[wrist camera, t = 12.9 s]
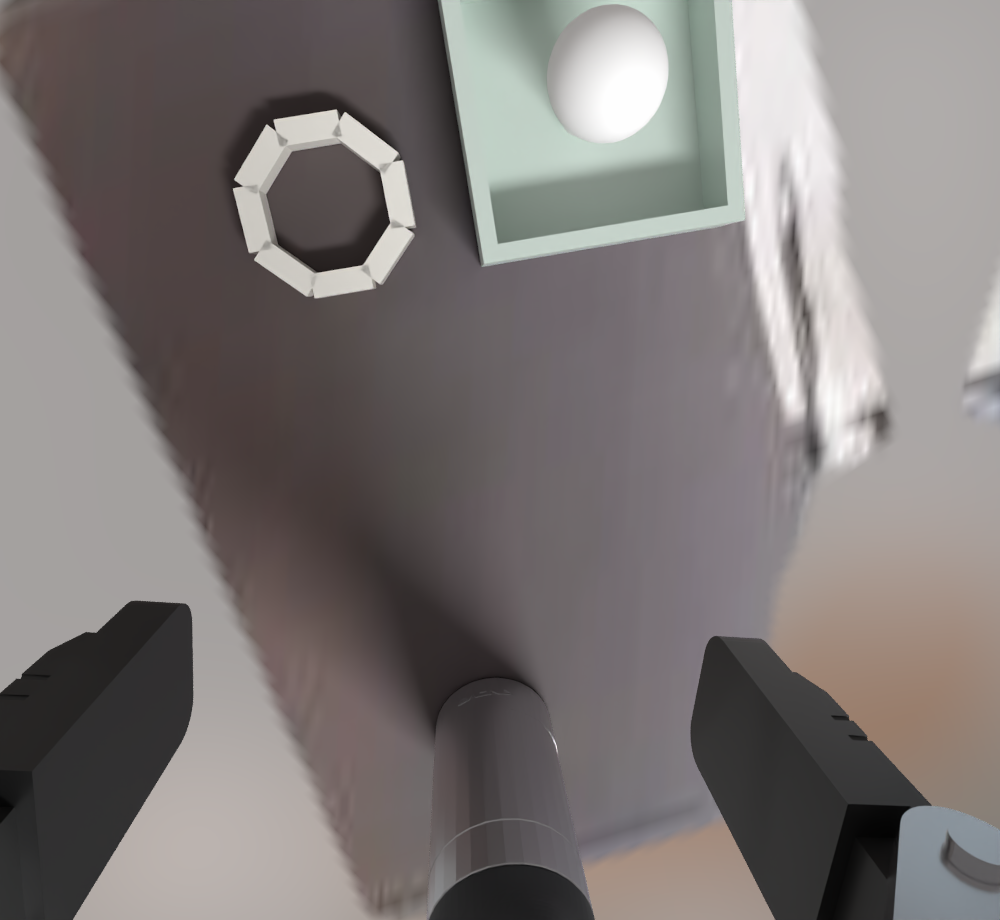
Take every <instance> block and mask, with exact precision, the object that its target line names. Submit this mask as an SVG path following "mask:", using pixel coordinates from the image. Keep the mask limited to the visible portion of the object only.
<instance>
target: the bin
mask: <svg viewBox="0 0 1000 920" xmlns="http://www.w3.org/2000/svg"><path fill="white" fill-rule="evenodd" d="M608 4H620V5H625V6H629V7H631V8H634V9H636V10H638V11H640V12H641V13H643V14H644V15H645V16H647V17H648V18H649V19H650V20H651V21H652V22H653V23H654V25H655V26H656V27H657V29H658V31H659V32H660V34H661V36H662V38H663V41H664V43H665V46H666V50H667V56H668V81H667V87H666V90H665V93H664V96H663V99H662V101H661V104H660V106H659V108H658V109H657V111H656V113H655V114H654V116H653V117H652V118H651V119H650V121H649V122H648V123H647V124H646V125H645V126H644V127H643V128H641V129H640V130H639V131H638V132H636V133H635V134H634V135H632V136H630V137H628V138H626V139H624V140H621V141H618V142H614V143H602V144H601V143H593V142H588V141H585V140H583V139H580V138H578V137H576V136H573V135H571V134H569V133H568V132H567V131H566V130H565V129H564V127H563V126H562V124H561V122H560V121H559V119H558V118H557V116H556V115H555V112H554V110H553V108H552V105H551V103H550V99H549V94H548V90H547V69H548V62H549V59H550V56H551V53H552V50H553V47H554V45H555V43H556V41H557V39H558V37H559V36H560V34H561V33H562V31H563V30H564V29H565V28H566V26H567V25H568V24H569V23H570V22H572V21H573V20H574V19H575V18H576V17H578V16H579V15H580V14H581V13H583V12H585V11H587V10H589V9H591V8H594V7H597V6H601V5H608ZM438 6H439V12H440V18H441V24H442V30H443V36H444V42H445V49H446V55H447V61H448V67H449V73H450V79H451V85H452V91H453V97H454V103H455V110H456V116H457V122H458V128H459V134H460V140H461V146H462V152H463V158H464V164H465V171H466V177H467V183H468V189H469V195H470V201H471V207H472V213H473V219H474V226H475V232H476V238H477V244H478V250H479V256H480V262H481V267H484V266H490V265H496V264H502V263H508V262H514V261H520V260H526V259H532V258H538V257H544V256H549V255H555V254H561V253H567V252H573V251H579V250H585V249H591V248H597V247H603V246H609V245H615V244H621V243H627V242H633V241H639V240H644V239H650V238H656V237H662V236H668V235H674V234H680V233H686V232H692V231H698V230H704V229H710V228H716V227H720V226H724V225H728V224H732V223H736V222H740V221H744V220H745V207H744V190H743V174H742V158H741V142H740V126H739V110H738V94H737V78H736V62H735V46H734V30H733V13H732V0H438Z"/></svg>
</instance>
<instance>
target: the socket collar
mask: <svg viewBox="0 0 1000 920" xmlns="http://www.w3.org/2000/svg"><path fill="white" fill-rule="evenodd" d="M274 124H275V128H276V131H275V130H273V129H272V128H271V127H269V126H268V125H266V126H265V128H264V130H263V131H262V133H261V135H260V137H259V138H258V140H257V142H256V143H255V145H254V147H253V148H252V150H251V152H250V153H249V155H248V157H247V158H246V160H245V162H244V163H243V165H242V167H241V169H240V170H239V172H238V174H237V175H236V177H235V179H234V180H235V181H237V182H238V183H239V184H241V185H242V186H244V187H237V188H233V191H234V195H235V199H236V203H237V207H238V211H239V215H240V219H241V223H242V227H243V231H244V235H245V239H246V243H247V247H248V251H249V253H253V254H257V256H256V258H255V259H254V260H255V261H256V262H258V263H259V264H261V265H262V266H263V267H265V268H266V269H268V270H269V271H271V272H272V273H274V274H275V275H276V276H278V277H279V278H281V279H282V280H284V281H285V282H287V283H288V284H289V285H291V286H292V287H294V288H295V289H297V290H298V291H300V292H301V293H302V294H304V295H305V296H313V294H314V298H324V297H330V296H336V295H342V294H348V293H354V292H359V291H365V290H371V289H376V284H375V281H376V282H378V283H379V284H383V283H384V282H385V280H386V279H387V277H388V276H389V274H390V273H391V271H392V270H393V268H394V267H395V265H396V264H397V262H398V261H399V259H400V258H401V256H402V255H403V253H404V251H405V250H406V248H407V247H408V245H409V244H410V242H411V241H412V239H413V238H414V236H415V235H414V233H412V232H411V231H410V230H408V229H411V228H417V227H416V222H415V217H414V211H413V206H412V200H411V195H410V190H409V184H408V179H407V173H406V168H405V164H404V162H403V160H402V161H399V159H400V156H399V153H398V152H397V151H396V150H394V149H393V148H392V147H390V146H389V145H388V144H386V143H385V142H384V141H382V140H381V139H380V138H379V137H377V136H376V135H375V134H373V133H372V132H371V131H369V130H368V129H367V128H366V127H364V126H363V125H362V124H360V123H359V122H358V121H356V120H355V119H354V118H352V117H351V116H350V115H349V114H347V113H346V112H345V113H344V114H343V116H342V117H341V116H340V114H339V112H338V111H337V109H336V110H330V111H324V112H318V113H312V114H305V115H299V116H293V117H287V118H281V119H275V120H274ZM340 143H341V144H342V145H344V146H345V147H346V148H348V149H349V150H350V151H352V152H353V153H354V154H356V155H357V156H358V157H360V158H361V159H362V160H364V161H365V162H366V163H368V164H369V165H370V166H372V167H373V168H374V169H376V170H377V171H378V172H380V173H381V178H382V183H383V188H384V194H385V199H386V204H387V209H388V214H389V219H390V224H389V226H388V227H387V229H386V231H385V232H384V234H383V235H382V237H381V238H380V240H379V241H378V243H377V244H376V246H375V248H374V249H373V251H372V252H371V254H370V255H369V257H368V258H367V260H366V261H365V263H364V265H361V266H355V267H350V268H344V269H338V270H332V271H326V272H320V273H318V272H316V271H315V270H313V269H312V268H310V267H309V266H308V265H306V264H305V263H303V262H302V261H300V260H299V259H298V258H296V257H295V256H293V255H292V254H291V253H289V252H288V251H286V250H285V249H283V248H282V247H281V246H279V245H278V242H277V238H276V234H275V229H274V225H273V221H272V217H271V213H270V209H269V204H268V200H267V196H266V193H267V192H268V190H269V189H270V187H271V185H272V184H273V182H274V180H275V179H276V177H277V175H278V174H279V172H280V170H281V169H282V167H283V165H284V164H285V162H286V160H287V159H288V157H289V155H290V154H291V152H292V151H297V150H303V149H309V148H315V147H322V146H328V145H334V144H340Z"/></svg>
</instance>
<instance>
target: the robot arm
mask: <svg viewBox="0 0 1000 920" xmlns="http://www.w3.org/2000/svg"><path fill="white" fill-rule="evenodd" d="M192 705H193V649H192V616H191V611H190V608H189V606H188V605H186V604H182V603H181V604H180V603H165V602H148V601H147V602H146V601H131V602H129V603H128V604H126V605H125V607H123V608H122V609H121V610H120V611H119V612H118V613H117V614H116V615H115V616H114V617H113V618H112V619H110V620H109V621H108V622H107V623H106V624H105V625H104V626H103V627H102V628H101V629H100V630H99V631H98V632H97V633H90V632H85V633H83V634H81V635H80V636H77V637H75V638H73V639H71V640H69V641H67V642H65V643H63V644H62V645H59V646H57V647H55V648H53V649H51V650H50V651H48V652H47V653H46V654H44V655H43V656H42V657H41V658H40V659H39V660H37V661H36V662H35V663H34V664H33V665H32V666H31V667H29V668H28V669H27V670H26V671H25V672H24V673H23V674H22V677H21V679H16V680H15V681H14V682H13V683H11V684H10V685H9V686H8V687H7V688H5V689H4V690H3V691H2V692H1V693H0V920H73V918H74V917H75V915H76V913H77V912H78V910H79V909H80V907H81V905H82V904H83V902H84V900H85V899H86V897H87V895H88V894H89V892H90V891H91V889H92V887H93V886H94V884H95V882H96V881H97V879H98V877H99V876H100V874H101V873H102V871H103V869H104V868H105V866H106V864H107V862H108V861H109V860H110V858H111V856H112V854H113V853H114V851H115V850H116V848H117V847H118V845H119V843H120V842H121V840H122V838H123V837H124V835H125V833H126V832H127V830H128V829H129V827H130V825H131V824H132V822H133V820H134V819H135V817H136V815H137V814H138V812H139V811H140V809H141V807H142V806H143V804H144V802H145V801H146V799H147V797H148V796H149V794H150V793H151V791H152V789H153V788H154V786H155V784H156V783H157V781H158V780H159V778H160V776H161V775H162V773H163V771H164V770H165V768H166V767H167V765H168V763H169V762H170V760H171V758H172V757H173V755H174V753H175V752H176V750H177V749H178V747H179V745H180V744H181V742H182V740H183V738H184V736H185V733H186V731H187V727H188V725H189V721H190V717H191V712H192ZM691 746H692V752H693V756H694V759H695V762H696V764H697V767H698V769H699V771H700V773H701V775H702V777H703V779H704V780H705V782H706V784H707V786H708V788H709V790H710V792H711V794H712V796H713V798H714V800H715V802H716V804H717V806H718V808H719V810H720V812H721V814H722V816H723V818H724V820H725V822H726V824H727V826H728V828H729V830H730V831H731V833H732V836H733V838H734V839H735V841H736V843H737V845H738V847H739V849H740V851H741V853H742V855H743V857H744V859H745V861H746V863H747V865H748V867H749V869H750V871H751V873H752V875H753V877H754V879H755V881H756V883H757V885H758V887H759V889H760V891H761V893H762V894H763V897H764V898H765V900H766V902H767V904H768V906H769V908H770V910H771V912H772V914H773V916H774V918H775V920H1000V830H999V829H997V828H995V827H993V826H991V825H990V824H988V823H986V822H984V821H982V820H979V819H977V818H975V817H973V816H970V815H967V814H965V813H962V812H959V811H956V810H952V809H948V808H943V807H937V806H932V805H931V804H930V803H929V802H928V801H927V800H926V799H925V798H924V797H923V796H922V794H921V793H920V792H919V791H918V790H917V789H916V788H915V787H914V786H913V785H912V784H911V783H910V782H909V780H908V779H907V778H906V777H905V776H904V775H903V774H902V773H901V772H900V771H899V770H898V769H897V768H896V766H895V765H894V764H893V763H892V762H891V761H890V760H889V759H888V758H887V757H886V756H885V755H884V753H883V752H882V751H881V750H880V749H879V748H878V747H877V746H876V745H875V744H874V743H873V742H872V741H868V740H867V735H866V734H865V733H864V732H863V731H862V730H861V729H860V728H859V726H858V725H857V724H856V723H855V722H854V721H849V716H848V715H847V714H846V712H845V711H844V710H843V709H842V708H841V707H840V706H839V705H838V704H837V703H836V702H835V701H834V700H833V699H832V697H831V696H830V695H829V694H828V693H827V692H825V691H824V690H822V689H821V688H819V687H818V686H816V685H815V684H813V683H812V682H810V681H809V680H807V679H806V678H804V677H803V676H801V675H799V674H798V673H796V672H792V671H791V670H790V669H789V668H788V667H787V666H786V664H785V663H784V662H783V661H782V660H781V659H780V658H779V657H778V655H777V654H776V653H775V652H774V651H773V650H772V649H771V648H770V646H769V645H768V644H767V643H766V642H765V641H764V640H762V639H756V638H739V637H722V636H714V637H712V638H711V639H710V640H709V642H708V644H707V646H706V649H705V654H704V659H703V664H702V669H701V674H700V679H699V684H698V689H697V695H696V700H695V705H694V710H693V715H692V721H691ZM427 920H595V919H594V915H593V910H592V905H591V901H590V897H589V892H588V887H587V883H586V878H585V874H584V869H583V866H582V861H581V857H580V852H579V848H578V843H577V838H576V834H575V829H574V825H573V820H572V816H571V811H570V807H569V802H568V798H567V793H566V788H565V784H564V779H563V775H562V770H561V766H560V761H559V757H558V751H557V747H556V742H555V737H554V733H553V728H552V724H551V719H550V715H549V712H548V710H547V707H546V705H545V703H544V702H543V700H542V699H541V698H540V696H539V695H538V694H537V693H536V692H534V691H533V690H532V689H531V688H529V687H528V686H526V685H524V684H522V683H520V682H517V681H514V680H510V679H504V678H488V679H482V680H478V681H474V682H471V683H469V684H467V685H465V686H463V687H461V688H460V689H459V690H457V691H456V692H455V693H453V694H452V695H451V696H450V697H449V699H448V700H447V701H446V702H445V703H444V705H443V707H442V709H441V710H440V712H439V715H438V719H437V723H436V736H435V755H434V770H433V790H432V811H431V832H430V852H429V873H428V899H427Z"/></svg>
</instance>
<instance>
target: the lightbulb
mask: <svg viewBox="0 0 1000 920" xmlns="http://www.w3.org/2000/svg"><path fill="white" fill-rule="evenodd" d="M667 81H668V56H667V50H666V46H665V43H664V41H663V38H662V36H661V34H660V32H659V31H658V29H657V27H656V26H655V25H654V23H653V22H652V21H651V20H650V19H649V18H648V17H647V16H645V15H644V14H643V13H641V12H640V11H638V10H636V9H634V8H631V7H629V6H625V5H620V4H608V5H601V6H597V7H594V8H591V9H589V10H587V11H585V12H583V13H581V14H580V15H579V16H578V17H576V18H575V19H574V20H573V21H572V22H570V23H569V24H568V25H567V26H566V28H565V29H564V30H563V31H562V33H561V34H560V36H559V37H558V39H557V41H556V43H555V45H554V47H553V50H552V53H551V56H550V59H549V62H548V69H547V90H548V94H549V99H550V103H551V105H552V108H553V110H554V112H555V115H556V116H557V118H558V119H559V121H560V122H561V124H562V126H563V127H564V129H565V130H566V131H567V132H568V133H569V134H571V135H573V136H576V137H578V138H580V139H583V140H585V141H588V142H593V143H601V144H602V143H614V142H618V141H621V140H624V139H626V138H628V137H630V136H632V135H634V134H635V133H636V132H638V131H639V130H640V129H641V128H643V127H644V126H645V125H646V124H647V123H648V122H649V121H650V119H651V118H652V117H653V116H654V114H655V113H656V111H657V109H658V108H659V106H660V104H661V101H662V99H663V96H664V93H665V90H666V87H667Z"/></svg>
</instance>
